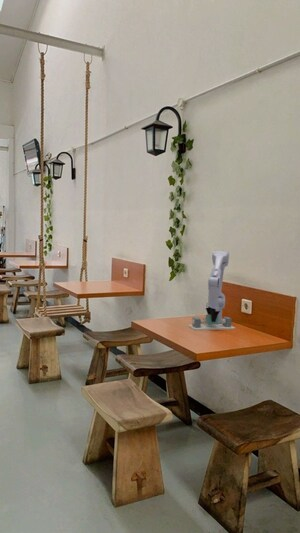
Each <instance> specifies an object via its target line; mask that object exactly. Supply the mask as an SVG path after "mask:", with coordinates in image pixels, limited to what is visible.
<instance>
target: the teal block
mask: <svg viewBox="0 0 300 533" xmlns="http://www.w3.org/2000/svg"><path fill="white" fill-rule="evenodd" d="M204 322H205V324H208V325H218V316H217V319H216V322H212V320H211V315H210V314H208V313H207V314H205V321H204Z"/></svg>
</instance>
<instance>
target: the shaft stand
mask: <svg viewBox="0 0 300 533" xmlns="http://www.w3.org/2000/svg"><path fill="white" fill-rule="evenodd" d="M232 319H233V318H231V317H229V316H222V319H220V323H223V324H218V325H208V324H206V323H205V324H204V322H205V320H204V319H203V318H199V317H197V316H196V317H192V319H191V320H192V324H188V327H189V328H190V329H192V330H193V331H211V330H217V331H218V330H235V329H236V327H235V326H233V325H232V323H233V322H232Z"/></svg>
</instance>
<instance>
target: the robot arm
mask: <svg viewBox="0 0 300 533" xmlns="http://www.w3.org/2000/svg"><path fill="white" fill-rule="evenodd" d="M211 259H212V264H213V267H212V269H211V272H210V276H209V277H208V279H207V287H208V289H207V290H208V299H207V300H208V302H206V305H205V307H206V308H205V311H206V314H207V315H208V314H210V315H211V320H212V322H216V319H217V316H218V324H223V323H220V319H223V309H224V308H225V306H226V296H225V294H224V293H223V292H222V291H223V290H222V289H223V280H224V271H225V268H226V267H227V266H229V259H230V252H229V251H227V250H226V251H219V250H213V251H212V255H211Z"/></svg>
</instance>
